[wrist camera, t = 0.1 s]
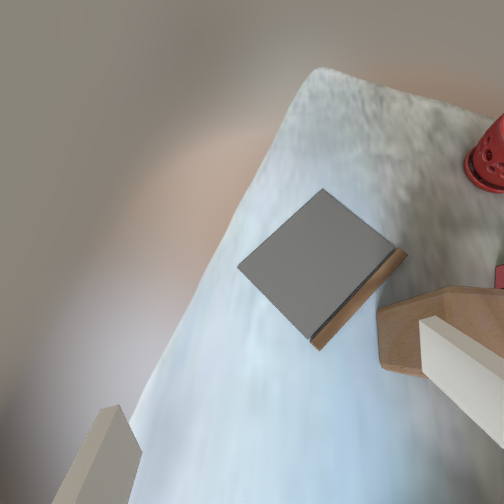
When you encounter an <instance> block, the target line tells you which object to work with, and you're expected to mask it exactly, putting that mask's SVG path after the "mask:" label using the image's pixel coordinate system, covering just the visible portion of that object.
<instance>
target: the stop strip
mask: <svg viewBox="0 0 504 504" xmlns="http://www.w3.org/2000/svg"><path fill="white" fill-rule="evenodd" d="M407 256H408V254H406V253H405V252H404V251H403V250H401V249H400V248H398V249H397V250H395V251H394V253H393V254H392V255H391V256H390V257H389V258H388V259H387V260H386V261H385V262H384V263H383V264H382V265H381V266H380V267H379V269H378V270H377V271H376V272H375V273H374V274H373V275H372V276H371V277H370V278H369V279H368V280H367V281H366V282H365V283H364V285H363V286H362V287H361V288H360V289H359V290H358V291H357V292H356V293H355V294H354V295H353V296H352V297H351V298H350V299H349V301H348V302H347V303H346V304H345V305H344V306H343V307H342V308H341V309H340V310H339V311H338V312H337V313H336V314H335V315H334V316H333V318H332V319H331V320H330V321H329V322H328V323H327V324H326V325H325V326H324V327H323V328H322V329H321V330H320V331H319V332H318V334H317V335H316V336H315V337H314V338H313V339H312V340H311V341H310V343H311V344H312V345H313V346H314V347H315V348H316V349H317V350H318V351H320V350H321V349H322V348H323V347H324V346H325V345H326V344H327V343H328V342H329V341H330V339H331V338H332V337H333V336H334V335H335V334H336V333H337V332H338V331H339V330H340V329H341V327H342V326H343V325H344V324H345V323H346V322H347V321H348V320H349V319H350V318H351V317H352V316H353V314H354V313H355V312H356V311H357V310H358V309H359V308H360V307H361V306H362V305H363V304H364V302H365V301H366V300H367V299H368V298H369V297H370V296H371V295H372V294H373V293H374V292H375V291H376V289H377V288H378V287H379V286H380V285H381V284H382V283H383V282H384V281H385V280H386V279H387V277H388V276H389V275H390V274H391V273H392V272H393V271H394V270H395V269H396V268H397V267H398V265H399V264H400V263H401V262H402V261H403V260H404V259H405V258H406V257H407Z"/></svg>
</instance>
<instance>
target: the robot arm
mask: <svg viewBox="0 0 504 504" xmlns="http://www.w3.org/2000/svg"><path fill="white" fill-rule="evenodd" d="M419 329H420V345H421V361H422V372H423V373H424V374H425V375H426V376H427V377H429V378H430V379H431V380H432V381H433V382H434V383H435V384H436V385H437V386H438V387H439V388H440V389H441V390H442V391H443V392H444V393H445V394H446V395H447V396H448V397H449V398H450V399H452V400H453V401H454V402H455V403H456V404H457V405H458V406H459V407H460V408H461V409H462V410H463V411H464V412H465V413H466V414H467V415H468V416H469V417H470V418H471V419H472V420H473V421H475V422H476V423H477V424H478V425H479V426H480V427H481V428H482V429H483V430H484V431H485V432H486V433H487V434H488V435H489V436H490V437H491V438H492V439H493V440H494V441H495V442H496V443H498V444H499V445H500V446H501V447H502V448H503V449H504V359H503V358H502V357H500V356H498V355H497V354H495V353H494V352H492V351H491V350H489V349H487V348H486V347H484V346H483V345H481V344H480V343H478V342H476V341H475V340H473V339H472V338H470V337H469V336H467V335H465V334H464V333H462V332H461V331H459V330H458V329H456V328H454V327H453V326H451V325H450V324H448V323H447V322H445V321H443V320H442V319H440V318H439V317H437V316H432V317H428V318H425V319H421V320H419ZM141 456H142V451H141V449H140V447H139V444H138V442H137V440H136V438H135V436H134V434H133V432H132V430H131V428H130V426H129V424H128V422H127V420H126V418H125V416H124V414H123V411H122V409H121V407H120V405H115V406H112V407H108V408H104V409H101V410H100V412H99V414H98V416H97V417H96V419H95V421H94V423H93V425H92V427H91V429H90V431H89V433H88V435H87V437H86V439H85V441H84V442H83V444H82V446H81V448H80V450H79V452H78V454H77V456H76V458H75V460H74V462H73V463H72V465H71V467H70V469H69V471H68V473H67V475H66V477H65V479H64V481H63V483H62V484H61V486H60V488H59V490H58V492H57V494H56V496H55V498H54V500H53V502H52V504H128V501H129V497H130V494H131V490H132V487H133V483H134V480H135V476H136V473H137V469H138V466H139V463H140V459H141Z"/></svg>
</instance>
